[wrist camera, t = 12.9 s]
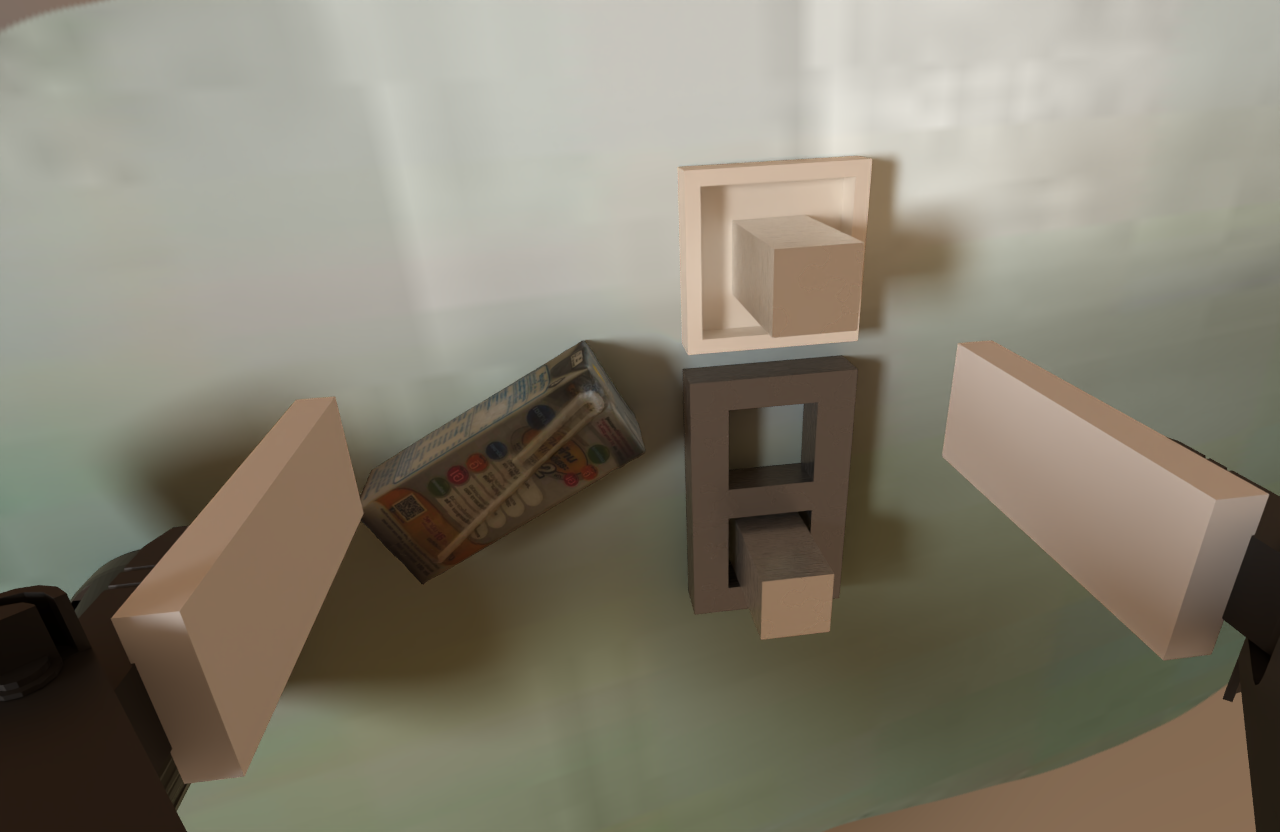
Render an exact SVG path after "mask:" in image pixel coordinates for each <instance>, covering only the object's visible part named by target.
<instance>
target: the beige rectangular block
mask: <svg viewBox="0 0 1280 832" xmlns="http://www.w3.org/2000/svg"><path fill="white" fill-rule="evenodd" d="M729 558H730V561H731V563H732V566H733V569H734V571H735V574H736V576H737V579H738V582H739V584H740V587H741V589H742V592H743V595H744V597H745V600H746V602H747V605H748V608H749V610H750V613H751V615H752V618H753V621H754V623H755V626H756V628H757V631H758V634H759V636H760V639H761V640H763V639H771V638H780V637H788V636H797V635H805V634H814V633H822V632H830V622H831V609H832V596H833V583H834V573H833V571H832V569H831V568H830V566H829V564H828V563H827V561H826V559H825V558H824V556H823V554H822V552H821V551H820V549H819V547H818V546H817V544H816V542H815V541H814V539H813V537H812V536H811V534H810V532H809V531H808V529H807V527H806V525H805V524H804V522H803V520H802V519H801V517H800V515H799V514H798V512H788V513H778V514H769V515H759V516H749V517H740V518H730V519H729Z"/></svg>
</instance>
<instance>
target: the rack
mask: <svg viewBox="0 0 1280 832" xmlns="http://www.w3.org/2000/svg"><path fill="white" fill-rule="evenodd" d="M857 373H858V369H857V368H856V367H854V366H853V365H852V364H851V363H850V362H849V361H848V360H847V359H846V358H844V357H843V356H831V357H819V358H807V359H796V360H784V361H772V362H761V363H749V364H737V365H726V366H714V367H702V368H691V369H683V404H684V443H685V482H686V520H687V559H688V592H689V595H690V599H691V603H692V606H693V610H694V614H703V613H712V612H721V611H730V610H738V609H747V608H748V605H747V602H746V600H745V597H744V595H743V592H742V589H741V587H740V584H739V582H738V579H737V576H736V574H735V571H734V569H733V566H732V564H731V565H728V519H730V518H740V517H749V516H759V515H769V514H778V513H788V512H798V511H799V512H798V514H799V515H800V517H801V519H802V520H803V522H804V524H805V525H806V527H807V529H808V531H809V532H810V534H811V536H812V537H813V539H814V541H815V542H816V544H817V546H818V547H819V549H820V551H821V552H822V554H823V556H824V558H825V559H826V561H827V563H828V564H829V566H830V568H831V569H832V571H833V573H834V583H833V596H832V599H835V598H839V593H840V581H841V569H842V557H843V544H844V532H845V520H846V508H847V496H848V483H849V471H850V459H851V447H852V434H853V422H854V410H855V398H856V386H857ZM793 404H804V411H803V431H802V452H801V463H796V464H786V465H776V466H766V467H755V468H745V469H735V470H729V410H738V409H749V408H760V407H771V406H782V405H793Z"/></svg>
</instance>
